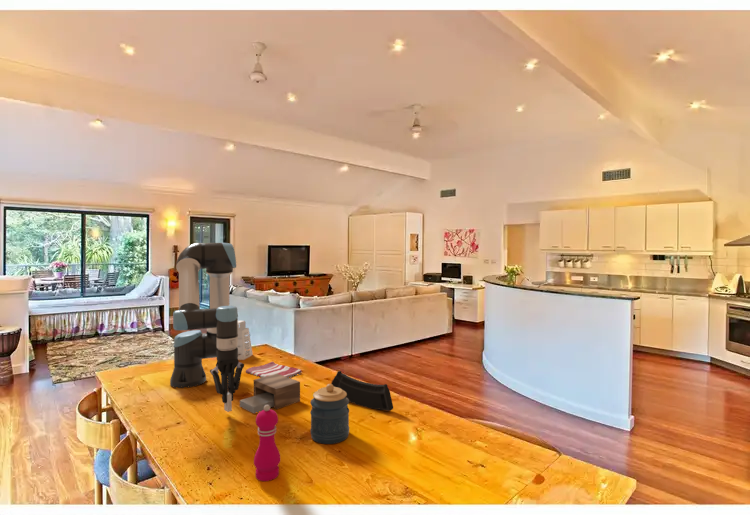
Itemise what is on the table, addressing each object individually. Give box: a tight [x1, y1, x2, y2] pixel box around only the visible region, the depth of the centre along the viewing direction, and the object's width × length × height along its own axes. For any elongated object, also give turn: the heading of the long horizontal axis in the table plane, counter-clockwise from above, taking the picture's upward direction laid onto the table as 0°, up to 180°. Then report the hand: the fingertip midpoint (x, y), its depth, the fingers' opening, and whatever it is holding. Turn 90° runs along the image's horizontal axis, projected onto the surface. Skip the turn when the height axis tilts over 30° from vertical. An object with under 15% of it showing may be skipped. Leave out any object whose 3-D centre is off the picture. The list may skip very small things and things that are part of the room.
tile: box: [239, 392, 274, 414], centre depth 171 cm, size 10×18×3 cm, turn 139°
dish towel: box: [245, 361, 303, 378], centre depth 211 cm, size 17×23×3 cm
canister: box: [310, 383, 350, 445], centre depth 143 cm, size 13×13×18 cm
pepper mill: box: [253, 405, 281, 482], centre depth 119 cm, size 7×7×20 cm
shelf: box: [253, 374, 301, 410], centre depth 175 cm, size 16×12×8 cm
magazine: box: [330, 370, 394, 412], centre depth 171 cm, size 17×3×30 cm
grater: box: [237, 320, 254, 361], centre depth 239 cm, size 10×10×20 cm
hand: (228, 410), depth 159 cm, fingers closed
